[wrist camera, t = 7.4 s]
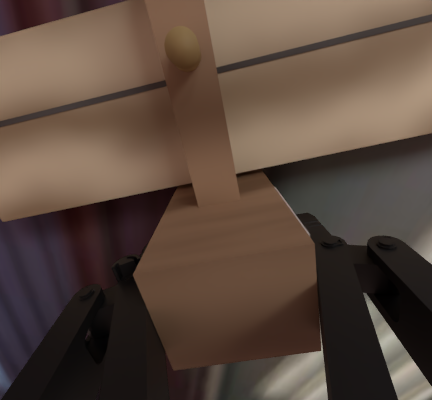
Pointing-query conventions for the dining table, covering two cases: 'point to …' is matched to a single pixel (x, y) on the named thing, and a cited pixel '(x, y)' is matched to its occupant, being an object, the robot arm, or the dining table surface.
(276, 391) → the dining table surface
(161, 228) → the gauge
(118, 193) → the board
